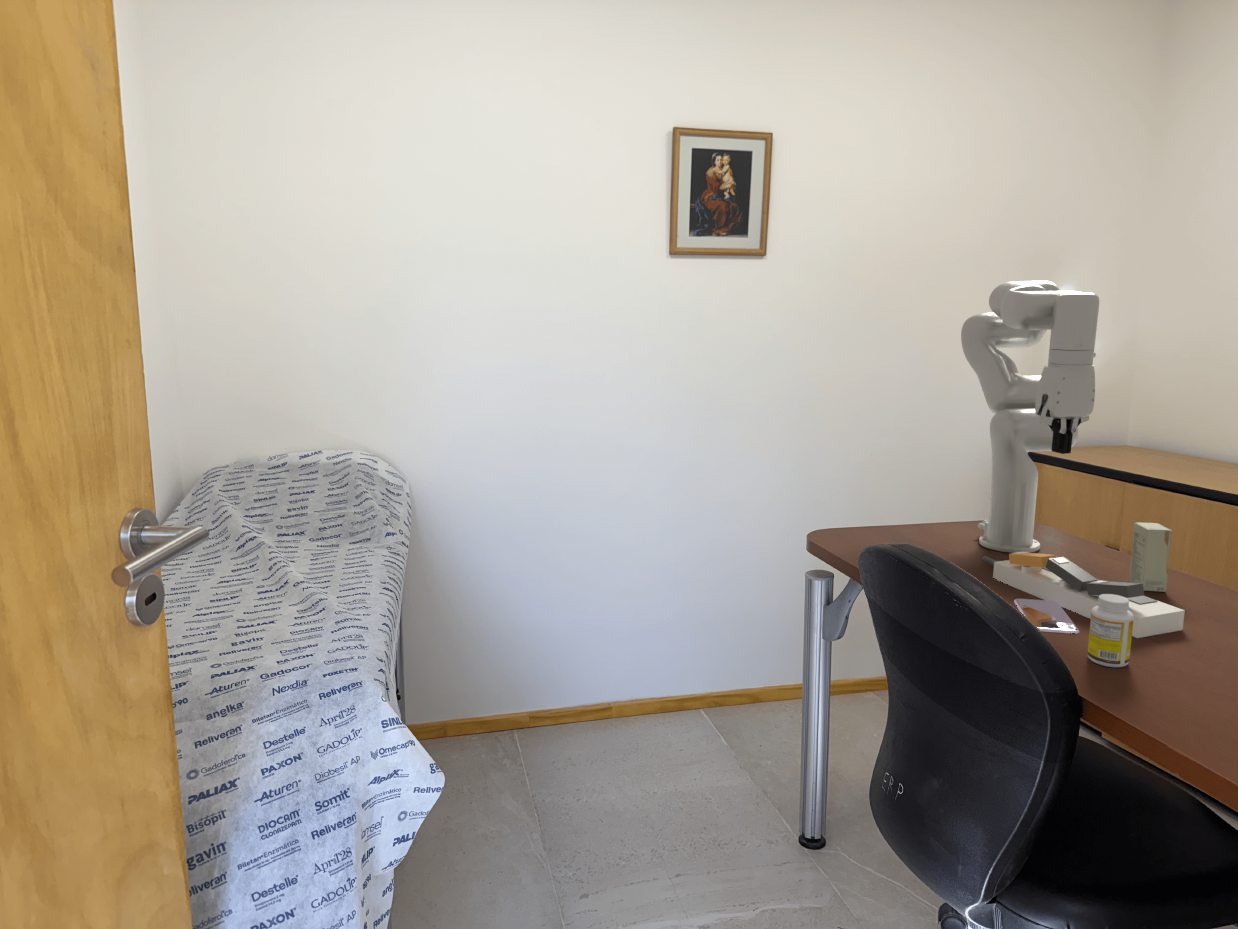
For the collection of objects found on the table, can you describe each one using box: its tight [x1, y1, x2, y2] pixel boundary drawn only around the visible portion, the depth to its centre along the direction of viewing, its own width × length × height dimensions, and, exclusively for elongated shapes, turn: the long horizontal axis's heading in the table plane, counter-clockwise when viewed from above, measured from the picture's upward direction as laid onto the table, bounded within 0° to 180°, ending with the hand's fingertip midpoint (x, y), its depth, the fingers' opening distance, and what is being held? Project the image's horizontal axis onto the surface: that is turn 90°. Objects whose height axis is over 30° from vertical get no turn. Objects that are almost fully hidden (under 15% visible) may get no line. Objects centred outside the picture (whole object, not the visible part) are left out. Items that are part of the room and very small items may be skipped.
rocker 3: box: [1086, 580, 1145, 598], centre depth 137 cm, size 8×4×2 cm, turn 17°
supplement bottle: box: [1087, 594, 1134, 668], centre depth 122 cm, size 6×6×10 cm
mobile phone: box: [1013, 598, 1080, 635], centre depth 141 cm, size 8×1×15 cm
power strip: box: [981, 556, 1186, 639], centre depth 151 cm, size 40×10×5 cm, turn 18°
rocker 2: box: [1046, 556, 1099, 591], centre depth 146 cm, size 8×4×2 cm, turn 18°
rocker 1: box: [1008, 552, 1057, 568], centre depth 154 cm, size 8×4×2 cm, turn 17°
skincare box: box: [1128, 521, 1173, 593], centre depth 154 cm, size 6×4×12 cm
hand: (1060, 452), depth 157 cm, fingers closed
